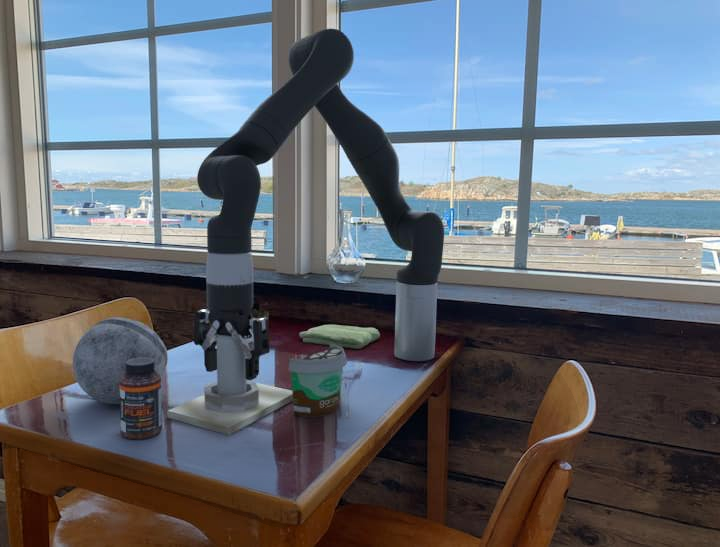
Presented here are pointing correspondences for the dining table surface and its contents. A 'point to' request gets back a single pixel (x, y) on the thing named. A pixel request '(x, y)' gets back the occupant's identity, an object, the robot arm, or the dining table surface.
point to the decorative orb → (114, 355)
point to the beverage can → (230, 367)
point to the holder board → (233, 418)
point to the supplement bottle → (140, 399)
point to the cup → (259, 315)
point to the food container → (317, 382)
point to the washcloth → (340, 336)
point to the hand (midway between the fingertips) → (231, 374)
